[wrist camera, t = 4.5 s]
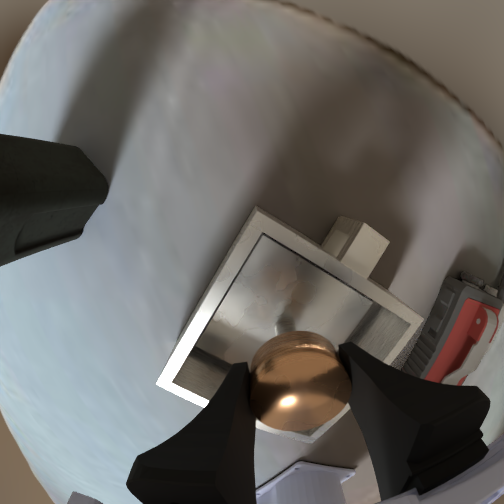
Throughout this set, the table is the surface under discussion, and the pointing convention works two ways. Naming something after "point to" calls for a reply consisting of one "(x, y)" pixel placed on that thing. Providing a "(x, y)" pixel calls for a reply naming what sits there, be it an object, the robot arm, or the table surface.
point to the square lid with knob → (287, 336)
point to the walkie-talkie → (457, 331)
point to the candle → (44, 195)
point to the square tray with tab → (327, 257)
